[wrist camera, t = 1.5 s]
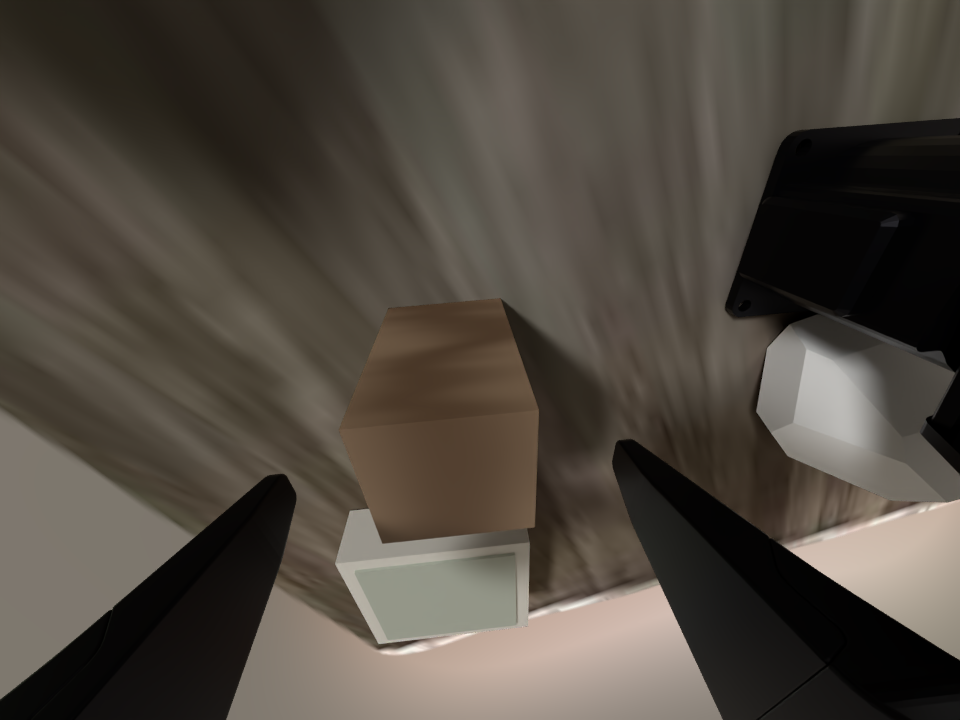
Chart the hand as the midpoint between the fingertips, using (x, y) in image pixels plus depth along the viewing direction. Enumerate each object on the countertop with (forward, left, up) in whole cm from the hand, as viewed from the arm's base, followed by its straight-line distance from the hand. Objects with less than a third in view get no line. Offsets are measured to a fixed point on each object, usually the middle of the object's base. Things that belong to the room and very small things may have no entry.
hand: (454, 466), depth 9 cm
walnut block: (0, 0, -6) cm, 6 cm away
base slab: (+2, +15, -6) cm, 16 cm away
